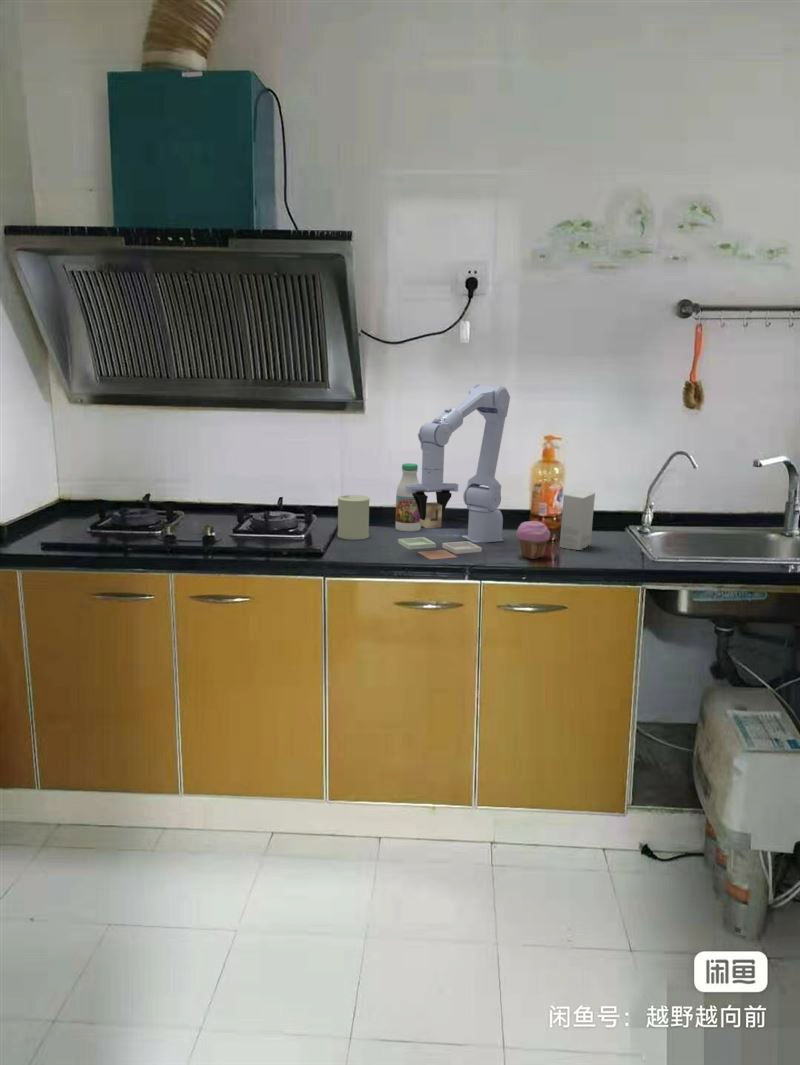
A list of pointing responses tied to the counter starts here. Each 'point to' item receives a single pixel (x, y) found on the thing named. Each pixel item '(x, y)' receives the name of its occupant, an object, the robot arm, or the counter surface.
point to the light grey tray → (461, 547)
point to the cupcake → (533, 538)
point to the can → (353, 517)
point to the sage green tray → (416, 543)
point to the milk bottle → (407, 501)
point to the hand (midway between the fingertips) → (431, 518)
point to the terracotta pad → (437, 554)
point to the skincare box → (577, 519)
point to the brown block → (432, 516)
